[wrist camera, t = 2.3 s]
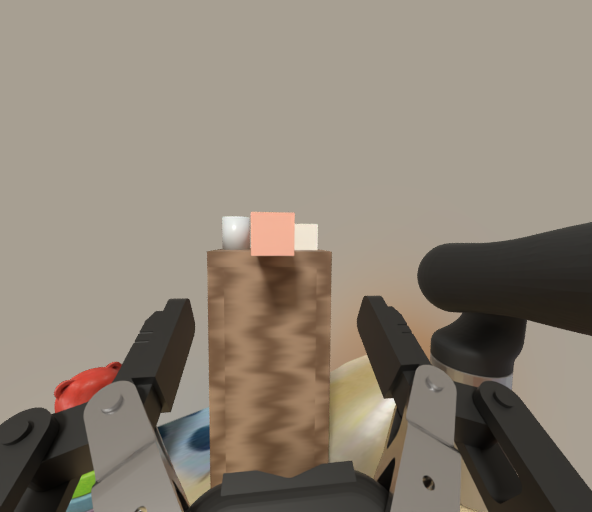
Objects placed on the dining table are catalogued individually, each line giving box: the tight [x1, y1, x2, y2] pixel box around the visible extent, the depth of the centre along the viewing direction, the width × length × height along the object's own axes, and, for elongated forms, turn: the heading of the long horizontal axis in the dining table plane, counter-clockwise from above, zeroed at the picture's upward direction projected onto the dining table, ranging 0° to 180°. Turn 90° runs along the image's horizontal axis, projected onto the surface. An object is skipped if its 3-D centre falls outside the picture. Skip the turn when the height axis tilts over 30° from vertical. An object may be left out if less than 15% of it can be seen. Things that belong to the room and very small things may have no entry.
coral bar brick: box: [251, 212, 295, 256], centre depth 34 cm, size 4×23×4 cm, turn 7°
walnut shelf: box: [207, 248, 332, 488], centre depth 40 cm, size 16×14×32 cm
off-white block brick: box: [294, 224, 318, 250], centre depth 40 cm, size 4×5×4 cm
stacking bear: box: [54, 362, 122, 512], centre depth 30 cm, size 11×10×18 cm
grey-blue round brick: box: [222, 216, 250, 250], centre depth 39 cm, size 4×4×5 cm
